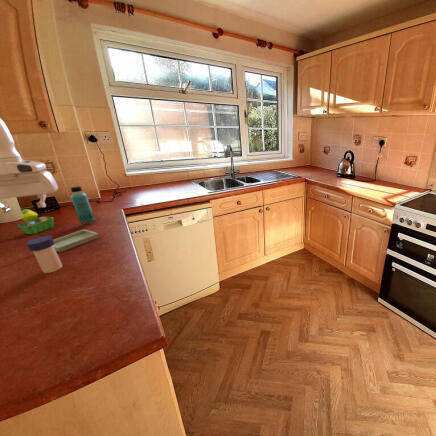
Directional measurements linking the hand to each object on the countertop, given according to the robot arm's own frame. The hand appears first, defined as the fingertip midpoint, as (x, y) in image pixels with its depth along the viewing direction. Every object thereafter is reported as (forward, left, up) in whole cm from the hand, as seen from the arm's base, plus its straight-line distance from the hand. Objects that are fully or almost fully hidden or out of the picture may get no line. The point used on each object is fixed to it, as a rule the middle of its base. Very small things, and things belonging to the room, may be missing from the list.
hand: (24, 209), depth 80 cm
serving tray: (+15, +19, -23) cm, 33 cm away
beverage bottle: (+30, +37, -23) cm, 53 cm away
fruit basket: (+15, +52, -23) cm, 59 cm away
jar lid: (0, 0, -12) cm, 12 cm away
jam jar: (0, 0, -23) cm, 23 cm away
